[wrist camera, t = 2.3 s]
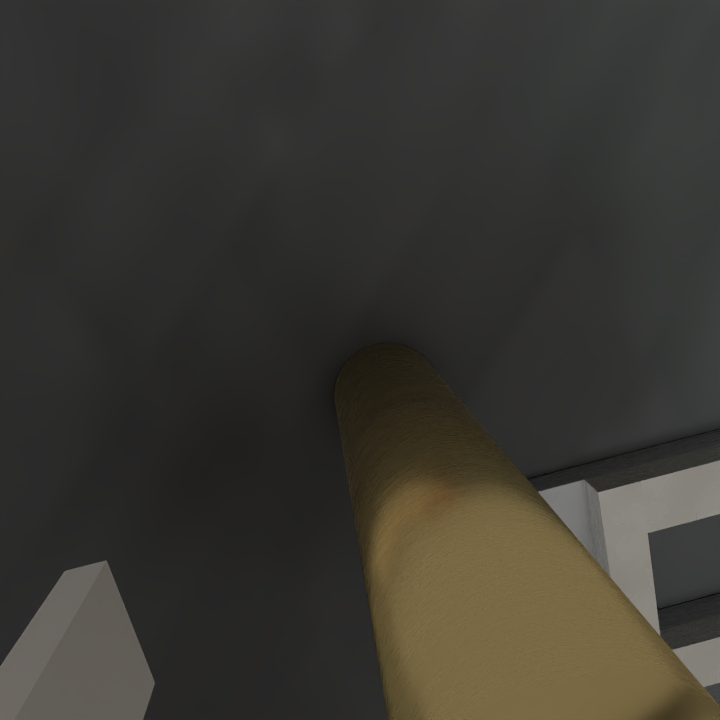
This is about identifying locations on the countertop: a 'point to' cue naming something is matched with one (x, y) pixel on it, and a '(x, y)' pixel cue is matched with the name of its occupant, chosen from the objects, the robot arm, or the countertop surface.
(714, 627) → the light grey flat block
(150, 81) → the countertop surface
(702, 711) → the pin
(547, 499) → the lower link
